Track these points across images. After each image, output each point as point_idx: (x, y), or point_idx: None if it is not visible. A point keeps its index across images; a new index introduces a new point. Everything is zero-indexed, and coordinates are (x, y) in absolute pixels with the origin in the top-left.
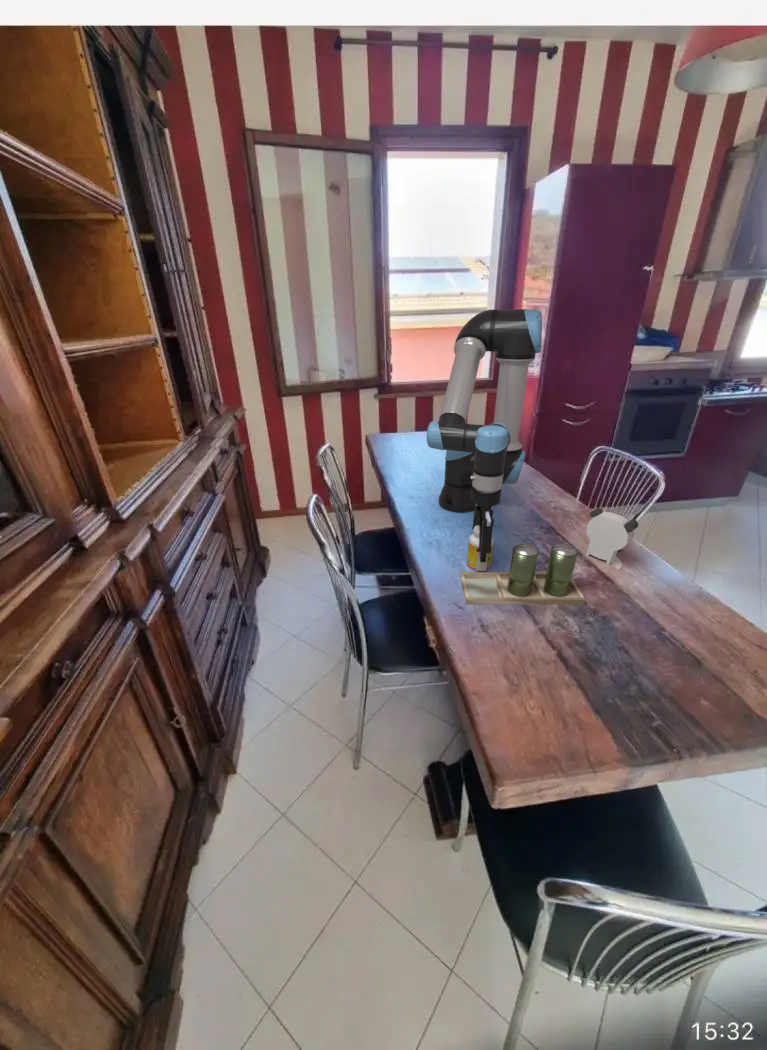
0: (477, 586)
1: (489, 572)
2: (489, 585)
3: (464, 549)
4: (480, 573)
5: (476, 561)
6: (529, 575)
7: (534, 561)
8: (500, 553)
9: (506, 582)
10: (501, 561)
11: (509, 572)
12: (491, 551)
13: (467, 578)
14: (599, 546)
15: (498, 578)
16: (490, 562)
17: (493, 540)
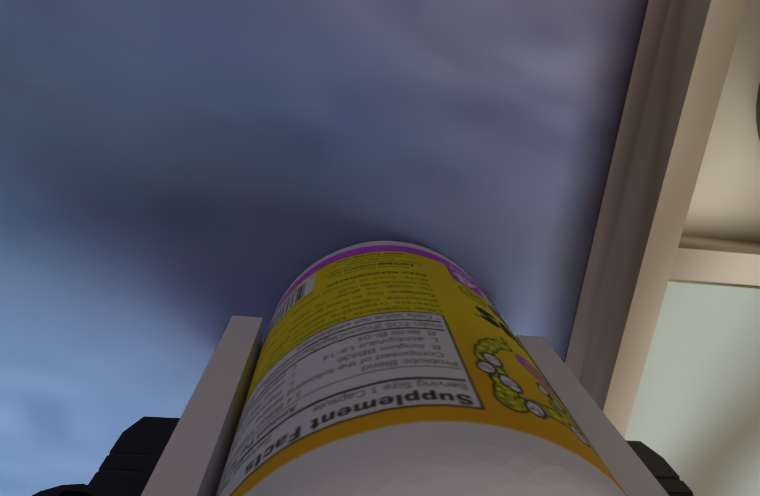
0: (714, 439)
1: (625, 334)
2: (732, 344)
3: (35, 393)
4: (622, 421)
5: None
6: None
7: None
8: (99, 19)
9: (722, 170)
10: (281, 68)
11: (683, 118)
12: (539, 384)
13: None
14: None
15: (748, 274)
16: (468, 287)
17: (527, 473)
